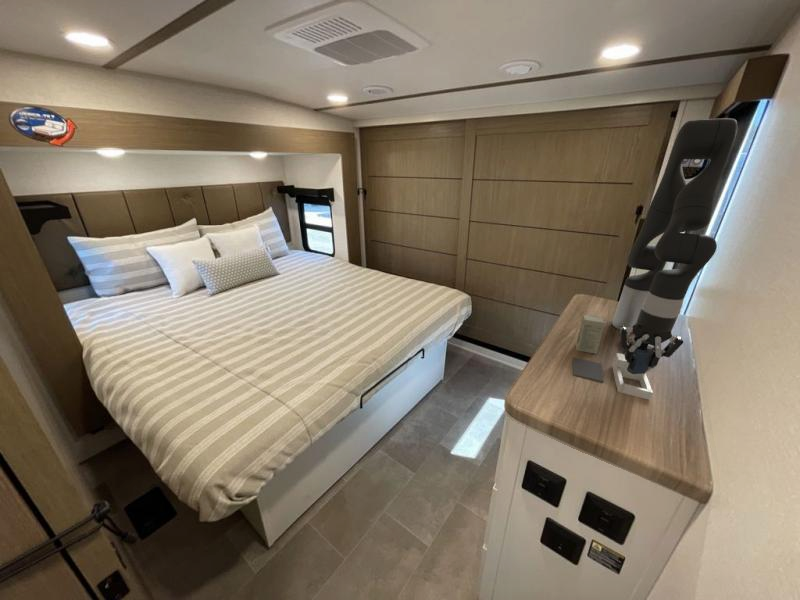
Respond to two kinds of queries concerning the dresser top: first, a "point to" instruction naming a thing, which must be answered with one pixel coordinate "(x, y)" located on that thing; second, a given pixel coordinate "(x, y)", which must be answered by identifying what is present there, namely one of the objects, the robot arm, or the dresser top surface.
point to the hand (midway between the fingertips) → (638, 363)
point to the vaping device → (641, 358)
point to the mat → (587, 369)
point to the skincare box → (590, 334)
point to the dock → (621, 371)
